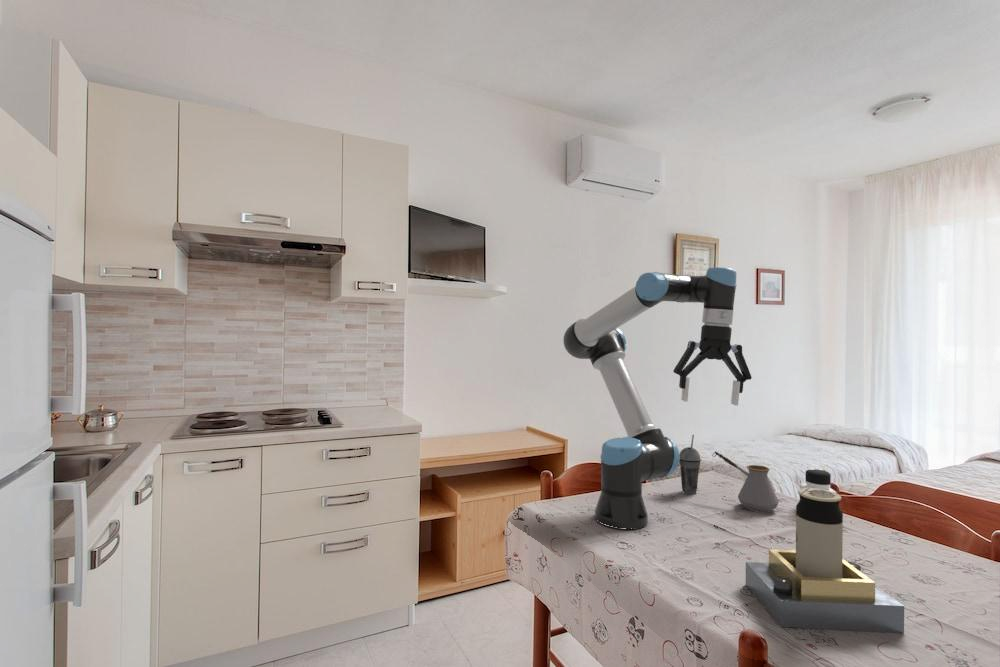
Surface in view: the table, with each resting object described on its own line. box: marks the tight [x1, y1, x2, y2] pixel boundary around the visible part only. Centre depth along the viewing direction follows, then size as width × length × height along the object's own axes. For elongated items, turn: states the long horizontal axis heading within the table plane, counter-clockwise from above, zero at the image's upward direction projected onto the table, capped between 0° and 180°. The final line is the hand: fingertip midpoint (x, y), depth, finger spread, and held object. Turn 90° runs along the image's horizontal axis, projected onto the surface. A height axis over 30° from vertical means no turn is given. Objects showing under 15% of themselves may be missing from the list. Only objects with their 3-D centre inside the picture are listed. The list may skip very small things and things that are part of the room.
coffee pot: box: [712, 451, 779, 513], centre depth 163 cm, size 21×12×15 cm, turn 33°
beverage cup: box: [678, 434, 702, 495], centre depth 174 cm, size 7×7×20 cm
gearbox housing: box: [745, 548, 905, 633], centre depth 102 cm, size 22×16×8 cm
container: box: [799, 468, 838, 494], centre depth 156 cm, size 8×8×13 cm
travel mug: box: [795, 488, 844, 578], centre depth 102 cm, size 8×8×18 cm
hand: (709, 402), depth 137 cm, fingers open, 13 cm apart
